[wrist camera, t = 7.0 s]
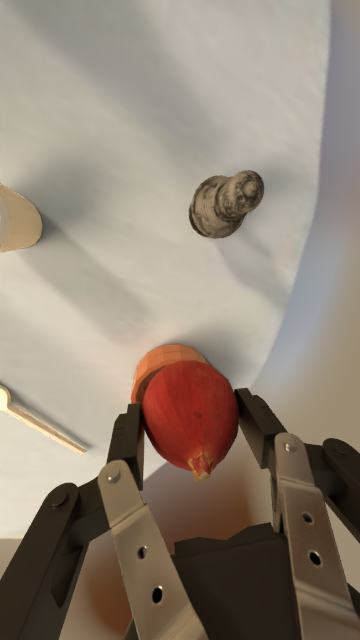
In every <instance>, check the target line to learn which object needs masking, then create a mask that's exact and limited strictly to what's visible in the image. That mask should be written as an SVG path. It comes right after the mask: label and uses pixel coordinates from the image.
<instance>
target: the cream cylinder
mask: <svg viewBox="0 0 360 640" xmlns="http://www.w3.org/2000/svg"><path fill="white" fill-rule="evenodd" d="M42 227H43V225H42V221H41V217H40V214H39V213H38V211H37V209H36V208H35V206H34V205H33V204H32V203H31V202H29V201H28V200H27V199H26V198H25V197H23V196H21V195H20V194H18V193H16V192H15V191H13V190H11V189H10V188H8V187H6V186H4V185H3V184H1V183H0V252H5V251H11V250H17V249H23V248H28V247H30V246H31V245H33V244H35V243H36V242H37V241H38V239H39V238H40V237H41V233H42Z"/></svg>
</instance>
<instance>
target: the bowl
mask: <svg viewBox="0 0 360 640" xmlns="http://www.w3.org/2000/svg"><path fill="white" fill-rule="evenodd" d="M180 360H197V361H200V362H203V363H206V364H207V362H206V360H205V358H204V356H202V355H201V354H200V353H198V352H197V351H196V350H195V349H193V348H190V347H187V346H183V345H179V344H174V345H164V346H161V347H159V348H157V349H155V350H153V351H151V352H149V353H147V354H146V355H145V357H144V358H143V359H142V360H141V361H140V362H139V363H138V365H137V368H136V371H135V374H134V377H133V384H132V391H131V403H139V402H141V406H142V413H143V399H144V395H145V392H146V390H147V388H148V386H149V383H150V381H151V380H152V378H153V377H154V376H155V375H156V374H157V373H159V372H160V371H161V370H162V369H163V368H164V367H166V366H167V365H169V364H172V363H175V362H177V361H180Z"/></svg>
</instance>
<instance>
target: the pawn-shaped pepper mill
mask: <svg viewBox="0 0 360 640" xmlns="http://www.w3.org/2000/svg"><path fill="white" fill-rule="evenodd" d="M263 194H264V184H263V181H262V178H261V177H260V176H259V175H258V174H257V173H256V172H254V171H250V170H248V171H242V172H239V173H238V174H236V175H235V176H234V177H226V176H214V177H211V178H208V179H207V180H205V181H204V182H203V183H201V185H200V186H199V187H198V188H197V190H196V192H195V194H194V196H193V199H192V202H191V204H190V208H189V219H190V223H191V225H192V227H193V228H194V230H195V231H196V232H197V233H198V234H200V235H202V236H205V237H212V238H224V237H227V236H229V235H231V234H232V233H234V232H235V231H236V230H237V229H238V228H239V227H240V225H241V223H242V221H243V219H244V216H245V215H246V214H247V213H248V212H251V211H252V210H254V209H255V208H256V207H257V206H258V205H259V203H260V202H261V200H262V198H263Z"/></svg>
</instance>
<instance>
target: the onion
mask: <svg viewBox="0 0 360 640" xmlns="http://www.w3.org/2000/svg"><path fill="white" fill-rule="evenodd" d="M142 414H143V427H144V429H145V431H146V434H147V436H148V438H149V440H150V441H151V443H152V445H153V447H154V448H155V450H156V451H157V453H158V454H160V455H161V456H162V457H163V458H164V459H166V460H167V461H169V462H170V463H171V464H173V465H175V466H177V467H179V468H183V469H186V470H189V471H192V472H193V474H194V477H195V480H196V481H203V480H205V479H207V478H208V477H210V474H211V471H212V470H213V469H214V468H215V467H216V465H217V464H218V463H220V462H221V461H222V460H223V459H224V458H225V456H226V455H227V453H228V451H229V450H230V448H231V446H232V444H233V442H234V441H235V439H236V436H237V433H238V421H239V404H238V401H237V398H236V396H235V394H234V392H233V389H232V387H231V385H230V383H229V381H228V380H227V379H226V378H225V377H224V376H223V375H222V374H220V373H219V372H218V371H217V370H216V369H215V368H214V367H212V366H211V365H209V364H206V363H203V362H200V361H197V360H180V361H177V362H175V363H172V364H169V365H167V366H166V367H164V368H163V369H162V370H161V371H160V372H159V373H157V374H156V375H155V376H154V377H153V378H152V380H151V381H150V383H149V386H148V388H147V390H146V392H145V395H144V399H143V413H142Z"/></svg>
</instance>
